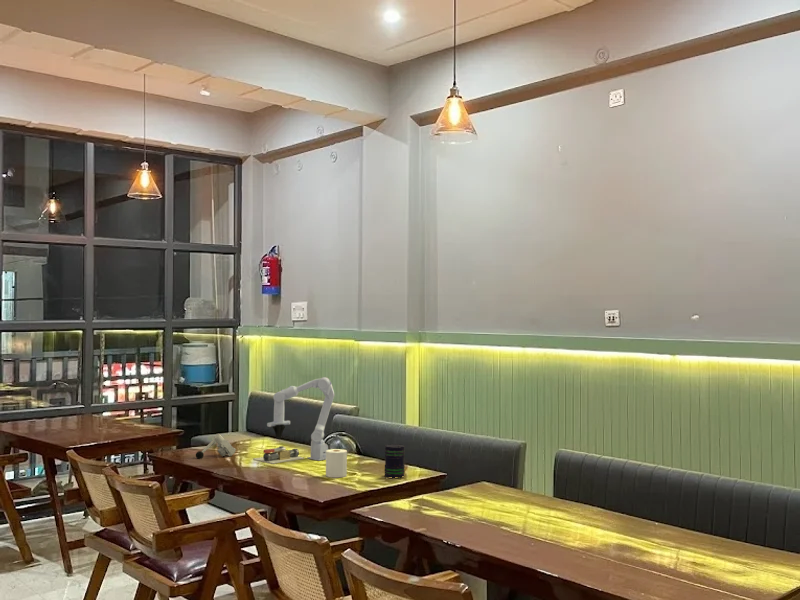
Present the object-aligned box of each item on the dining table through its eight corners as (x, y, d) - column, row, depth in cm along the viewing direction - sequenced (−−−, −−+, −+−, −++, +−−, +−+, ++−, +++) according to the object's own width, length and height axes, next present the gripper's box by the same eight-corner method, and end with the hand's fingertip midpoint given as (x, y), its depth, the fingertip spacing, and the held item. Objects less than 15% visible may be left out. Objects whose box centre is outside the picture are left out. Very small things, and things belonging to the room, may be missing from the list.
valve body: (300, 458, 419) (300, 449, 419) (269, 462, 403) (269, 453, 404) (292, 456, 423) (292, 448, 423) (261, 461, 408) (262, 452, 408)
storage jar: (380, 476, 374) (380, 445, 375) (395, 473, 381) (396, 443, 381) (393, 479, 367) (393, 447, 367) (408, 477, 373) (409, 446, 374)
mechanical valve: (239, 451, 420) (222, 431, 416) (215, 475, 411) (197, 455, 407) (231, 450, 429) (214, 430, 424) (208, 474, 420) (190, 454, 415)
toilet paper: (350, 475, 375) (351, 450, 375) (337, 478, 366) (338, 453, 367) (334, 472, 381) (334, 448, 381) (321, 476, 372) (321, 450, 372)
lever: (281, 449, 417) (281, 445, 417) (287, 450, 414) (287, 446, 414) (262, 452, 406) (262, 448, 406) (267, 453, 403) (267, 449, 403)
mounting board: (304, 458, 418) (304, 457, 418) (272, 463, 401) (272, 462, 401) (285, 454, 428) (285, 453, 428) (253, 459, 412) (253, 458, 412)
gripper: (284, 412, 427) (284, 436, 427) (263, 414, 416) (263, 439, 416) (293, 413, 422) (292, 438, 422) (272, 415, 411) (271, 440, 411)
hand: (278, 438), depth 418 cm, fingers closed
